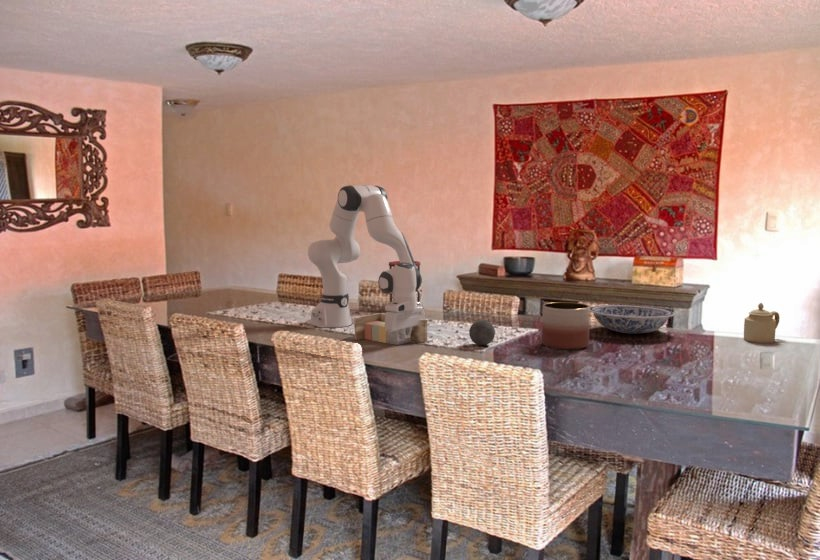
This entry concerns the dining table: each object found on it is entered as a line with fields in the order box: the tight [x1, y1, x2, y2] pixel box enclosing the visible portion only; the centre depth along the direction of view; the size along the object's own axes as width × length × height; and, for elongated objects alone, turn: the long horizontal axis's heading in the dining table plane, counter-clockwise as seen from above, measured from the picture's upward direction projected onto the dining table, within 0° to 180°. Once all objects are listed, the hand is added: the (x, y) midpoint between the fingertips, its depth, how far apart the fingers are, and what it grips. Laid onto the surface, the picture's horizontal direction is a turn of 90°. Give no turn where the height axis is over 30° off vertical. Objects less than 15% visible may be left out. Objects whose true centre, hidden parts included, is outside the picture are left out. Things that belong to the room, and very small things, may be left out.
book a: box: [364, 321, 383, 341], centre depth 272 cm, size 4×8×6 cm, turn 138°
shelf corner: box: [354, 312, 428, 343], centre depth 266 cm, size 26×15×9 cm, turn 48°
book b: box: [371, 322, 385, 343], centre depth 269 cm, size 4×8×6 cm, turn 138°
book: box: [379, 325, 388, 344], centre depth 267 cm, size 4×8×6 cm, turn 138°
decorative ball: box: [468, 319, 496, 346], centre depth 257 cm, size 10×10×10 cm
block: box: [386, 329, 412, 346], centre depth 264 cm, size 6×8×5 cm
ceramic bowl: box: [589, 304, 676, 335], centre depth 278 cm, size 34×34×10 cm
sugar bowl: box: [743, 302, 780, 344], centre depth 263 cm, size 15×11×15 cm
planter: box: [541, 301, 590, 351], centre depth 255 cm, size 18×18×16 cm
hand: (405, 338), depth 261 cm, fingers closed
